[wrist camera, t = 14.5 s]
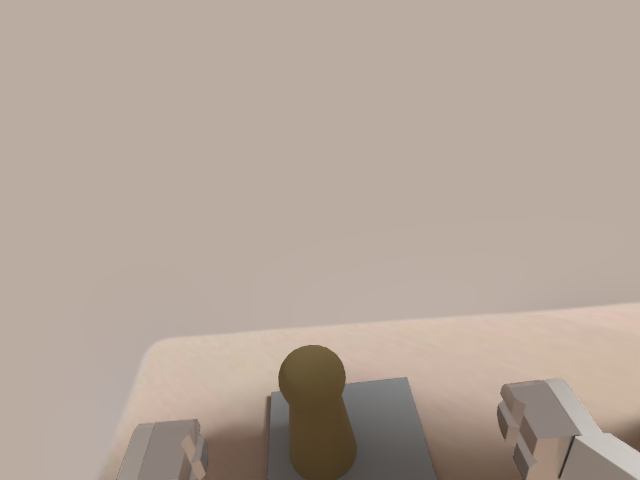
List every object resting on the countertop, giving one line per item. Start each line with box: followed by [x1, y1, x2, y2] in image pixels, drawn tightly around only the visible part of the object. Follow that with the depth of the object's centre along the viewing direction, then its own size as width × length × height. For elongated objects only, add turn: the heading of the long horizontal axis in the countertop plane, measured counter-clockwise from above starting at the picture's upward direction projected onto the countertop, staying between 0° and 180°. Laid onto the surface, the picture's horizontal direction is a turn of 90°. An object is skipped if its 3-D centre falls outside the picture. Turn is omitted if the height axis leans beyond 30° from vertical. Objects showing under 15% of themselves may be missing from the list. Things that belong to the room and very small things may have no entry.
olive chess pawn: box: [278, 345, 357, 480], centre depth 35 cm, size 6×6×11 cm
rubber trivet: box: [267, 377, 437, 480], centre depth 38 cm, size 14×14×1 cm
